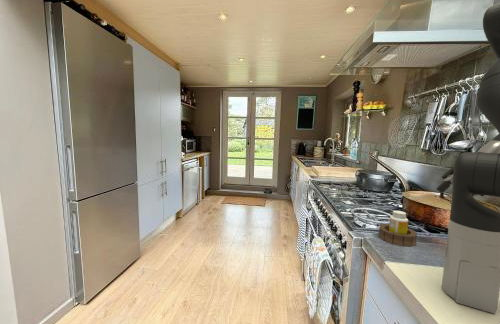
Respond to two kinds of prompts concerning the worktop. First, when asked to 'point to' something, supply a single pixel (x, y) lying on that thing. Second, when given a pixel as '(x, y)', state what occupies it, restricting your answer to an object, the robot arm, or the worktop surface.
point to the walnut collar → (397, 236)
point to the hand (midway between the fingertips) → (448, 196)
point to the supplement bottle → (398, 223)
